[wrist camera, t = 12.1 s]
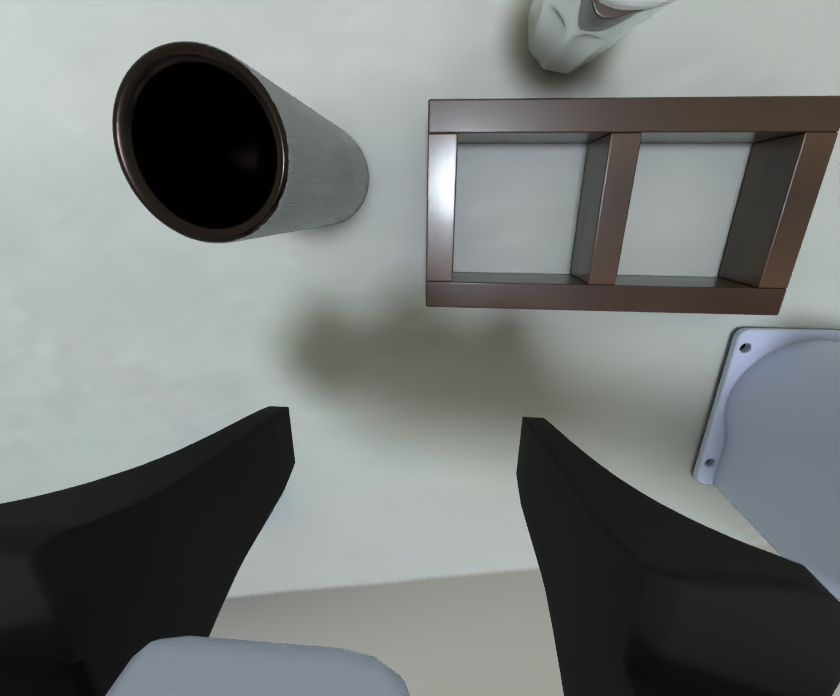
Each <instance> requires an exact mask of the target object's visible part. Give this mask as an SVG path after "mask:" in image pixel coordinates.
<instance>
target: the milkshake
mask: <svg viewBox="0 0 840 696" xmlns="http://www.w3.org/2000/svg"><path fill="white" fill-rule="evenodd" d="M674 1H676V0H533V1H532V5H531V9H530V13H529V17H528V42H529V51H530V52H531V54H532V55H533V56H534V58H535V59H536V60H537V62H538V63H539V64H540V66H541V67H542V68H543V70H548V71H554V72H559V73H564V74H567V73H569V72H571V71H573V70H575V69H576V68H578V67H580V66H582V65H584V64H586V63H588V62H589V61H591V60H592V59H594V58H595V57H596V56H598V55H599V54H600V53H602V52H603V51H604V50H606V49H607V48H608V47H610V46H611V45H612V44H614V43H615V42H616V41H618V40H619V39H621V38H622V37H623V36H625V35H626V34H627V33H629V32H630V31H631V30H633V29H634V28H635V27H637V26H638V25H639V24H641V23H643V22H644V21H646V20H647V19H649V18H650V17H652V16H653V15H655V14H656V13H658V12H659V11H661V10H662V9H664V8H665V7H667V6H668V5H670V4H671V3H673V2H674Z"/></svg>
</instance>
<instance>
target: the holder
mask: <svg viewBox="0 0 840 696" xmlns="http://www.w3.org/2000/svg"><path fill="white" fill-rule="evenodd" d="M839 128H840V96H748V97H635V98H522V99H430V100H429V101H428V133H429V134H428V172H427V249H426V306H427V307H464V308H504V309H544V310H584V311H624V312H664V313H704V314H744V315H778V314H779V311H780V308H781V305H782V301H783V298H784V295H785V292H786V289H785V288H787V287H788V284H789V281H790V278H791V275H792V272H793V269H794V266H795V263H796V259H797V256H798V253H799V250H800V247H801V244H802V241H803V238H804V235H805V232H806V229H807V226H808V223H809V220H810V217H811V214H812V211H813V208H814V205H815V202H816V199H817V196H818V193H819V190H820V187H821V184H822V180H823V177H824V174H825V171H826V168H827V165H828V162H829V159H830V156H831V153H832V150H833V147H834V144H835V141H836V138H837V135H838V133H837V131H839ZM711 142H755V143H754V144H753V147H752V151H751V154H750V158H749V162H748V166H747V169H746V173H745V177H744V181H743V185H742V188H741V192H740V196H739V200H738V203H737V207H736V211H735V215H734V218H733V222H732V226H731V230H730V233H729V237H728V241H727V245H726V248H725V252H724V256H723V260H722V264H721V267H720V271H719V275H718V277H679V276H627V275H617V271H618V265H619V260H620V254H621V249H622V243H623V237H624V232H625V226H626V220H627V215H628V209H629V204H630V198H631V192H632V187H633V181H634V175H635V170H636V164H637V159H638V153H639V147H640V143H711ZM457 143H589V144H588V149H587V156H586V163H585V171H584V178H583V185H582V193H581V200H580V207H579V214H578V222H577V229H576V236H575V243H574V251H573V258H572V265H571V272H570V273H571V274H523V273H471V272H453V251H454V223H455V195H456V167H457Z"/></svg>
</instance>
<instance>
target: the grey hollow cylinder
mask: <svg viewBox="0 0 840 696" xmlns="http://www.w3.org/2000/svg"><path fill="white" fill-rule="evenodd" d="M112 124H113V139H114V145H115V150H116V154H117V157H118V161H119V163H120V166H121V169H122V171H123V174H124V176H125V178H126V180H127V182H128V183H129V185H130V187H131V189H132V190H133V192H134V193H135V195H136V196H137V197H138V199H139V200H140V201H141V203H142V204H143V205H144V206H145V207H146V208H147V209H148V211H149V212H150V213H151V214H153V215H154V216H155V217H156V218H157V219H158V220H159V221H161V222H162V223H163V224H165V225H166V226H167V227H169V228H171V229H172V230H174V231H176V232H178V233H179V234H182V235H184V236H186V237H189V238H191V239H194V240H198V241H202V242H208V243H229V242H236V241H242V240H247V239H253V238H259V237H264V236H270V235H276V234H281V233H287V232H293V231H298V230H304V229H309V228H315V227H321V226H326V225H332V224H336V223H339V222H341V221H343V220H345V219H347V218H349V217H350V216H351V215H353V214H354V213H355V212H356V211H357V209H358V208H359V207H360V205H361V204H362V202H363V200H364V198H365V195H366V192H367V187H368V169H367V164H366V161H365V158H364V156H363V153H362V152H361V150H360V148H359V146H358V145H357V144H356V142H355V141H354V140H353V139H352V138H351V137H350V136H349V135H348V134H347V133H346V132H344V131H343V130H342V129H340V128H339V127H337V126H336V125H334V124H333V123H331V122H330V121H328V120H327V119H325V118H324V117H323V116H321V115H320V114H318V113H317V112H315V111H314V110H312V109H311V108H309V107H308V106H306V105H305V104H303V103H302V102H301V101H299V100H298V99H296V98H295V97H293V96H292V95H290V94H289V93H287V92H286V91H284V90H283V89H281V88H280V87H279V86H277V85H276V84H274V83H273V82H271V81H270V80H268V79H267V78H265V77H264V76H262V75H261V74H259V73H258V72H257V71H255V70H254V69H252V68H251V67H249V66H248V65H246V64H245V63H243V62H242V61H240V60H239V59H237V58H236V57H234V56H232V55H231V54H229V53H227V52H225V51H223V50H221V49H219V48H216V47H214V46H211V45H207V44H204V43H199V42H191V41H181V42H173V43H167V44H164V45H161V46H159V47H156V48H154V49H152V50H150V51H148V52H147V53H146V54H144V55H143V56H141V57H140V58H139V59H138V60H137V61H136V62H135V63H134V64H133V65H132V66H131V68H130V69H129V70H128V72H127V73H126V75H125V76H124V78H123V80H122V82H121V84H120V86H119V89H118V92H117V95H116V98H115V103H114V109H113V120H112Z"/></svg>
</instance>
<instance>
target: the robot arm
mask: <svg viewBox="0 0 840 696" xmlns="http://www.w3.org/2000/svg"><path fill="white" fill-rule="evenodd" d="M743 344H745V347H744V348H743V349H742V350H740V347H741V345H743ZM708 459H710V461H708V462H706V461H707V460H708ZM294 464H295V457H294V449H293V440H292V432H291V424H290V415H289V407H275V406H269V407H266V408H264V409H261V410H259V411H257V412H255V413H253V414H251V415H249V416H247V417H245V418H243V419H241V420H239V421H237V422H235V423H233V424H231V425H229V426H228V427H226V428H224V429H222V430H220V431H218V432H216V433H214V434H212V435H210V436H208V437H206V438H204V439H201V440H199V441H197V442H195V443H193V444H191V445H189V446H187V447H185V448H182V449H180V450H178V451H176V452H173V453H171V454H169V455H166V456H164V457H162V458H159V459H156V460H154V461H151V462H149V463H146V464H144V465H141V466H138V467H135V468H133V469H130V470H127V471H124V472H120V473H117V474H114V475H111V476H108V477H105V478H102V479H99V480H96V481H93V482H89V483H86V484H82V485H79V486H75V487H71V488H68V489H64V490H60V491H56V492H52V493H48V494H44V495H40V496H36V497H31V498H27V499H22V500H17V501H12V502H7V503H2V504H0V696H410V694H409V692H408V689H407V687H406V684H405V682H404V680H403V679H402V678H401V677H400V675H399V674H397V673H396V672H395V671H393V670H392V669H390V668H389V667H388V666H387V665H385V664H384V663H382V662H381V661H380V660H378V659H377V658H376V657H373V656H369V655H366V654H362V653H358V652H354V651H351V650H347V649H343V648H331V647H321V646H308V645H296V644H284V643H272V642H260V641H246V640H235V639H222V638H210V637H209V635H210V633H211V630H212V628H213V626H214V623H215V621H216V618H217V616H218V614H219V612H220V609H221V607H222V605H223V603H224V600H225V598H226V596H227V594H228V592H229V589H230V587H231V585H232V583H233V581H234V579H235V576H236V574H237V572H238V570H239V568H240V566H241V564H242V562H243V560H244V559H245V557H246V555H247V553H248V551H249V550H250V548H251V546H252V545H253V543H254V541H255V539H256V538H257V536H258V534H259V533H260V531H261V529H262V528H263V526H264V524H265V522H266V521H267V519H268V517H269V516H270V514H271V512H272V510H273V509H274V507H275V505H276V504H277V502H278V500H279V498H280V497H281V495H282V493H283V491H284V489H285V487H286V484H287V482H288V480H289V477H290V474H291V472H292V469H293V467H294ZM516 474H517V481H518V488H519V495H520V501H521V506H522V509H523V513H524V516H525V520H526V523H527V527H528V530H529V534H530V537H531V540H532V544H533V547H534V551H535V554H536V557H537V561H538V564H539V568H540V571H541V574H542V578H543V583H544V587H545V591H546V596H547V601H548V606H549V611H550V617H551V622H552V627H553V633H554V638H555V645H556V650H557V656H558V662H559V667H560V673H561V679H562V686H563V692H564V696H832V695H833V693H834V691H835V689H836V688H837V686H838V684H839V682H840V602H839V601H838V600H840V330H820V329H783V328H741V329H739V330H738V331H737V332H736V333H735V334H734V336H733V339H732V342H731V346H730V349H729V353H728V356H727V359H726V363H725V366H724V370H723V373H722V376H721V380H720V383H719V387H718V390H717V393H716V397H715V400H714V404H713V407H712V410H711V414H710V417H709V421H708V424H707V427H706V431H705V434H704V438H703V441H702V444H701V448H700V451H699V455H698V458H697V461H696V465H695V468H694V472H693V477H694V479H695V480H696V481H697V482H699V483H701V484H714V485H715V486H716V487H717V488H718V489H719V491H720V492H721V493H722V494H723V495H724V496H725V497H726V498H727V499H728V500H729V501H730V502H731V503H732V504H733V505H734V506H735V508H736V509H737V510H738V511H739V512H740V513H741V514H742V515H743V516H744V517H745V518H746V519H747V520H748V521H749V522H750V523H751V525H752V526H753V527H754V528H755V529H756V530H757V531H758V532H759V533H760V534H761V535H762V536H763V537H764V538H765V539H766V540H767V542H768V543H769V544H770V545H771V546H772V547H773V548H774V549H775V550H776V551H777V552H778V553H779V554H780V555H781V556H782V557H780V556H778V555H775V554H773V553H770V552H767V551H765V550H762V549H759V548H757V547H754V546H751V545H748V544H746V543H743V542H741V541H738V540H736V539H734V538H731V537H729V536H727V535H724V534H722V533H720V532H718V531H715V530H713V529H711V528H708V527H706V526H704V525H702V524H700V523H698V522H696V521H694V520H691V519H689V518H687V517H685V516H683V515H681V514H679V513H678V512H676V511H674V510H672V509H670V508H668V507H666V506H664V505H662V504H660V503H659V502H657V501H655V500H653V499H652V498H650V497H648V496H646V495H645V494H643V493H641V492H640V491H638V490H637V489H635V488H633V487H632V486H630V485H629V484H627V483H625V482H624V481H622V480H621V479H619V478H618V477H616V476H615V475H613V474H612V473H611V472H609V471H608V470H607V469H605V468H604V467H603V466H601V465H600V464H598V463H597V462H596V461H594V460H593V459H592V458H591V457H589V456H588V455H587V454H586V453H584V452H583V451H582V450H581V449H580V448H578V447H577V446H576V445H575V444H574V443H572V442H571V441H570V440H569V439H568V438H567V437H565V436H564V435H563V434H562V433H561V432H560V431H559V430H557V429H556V428H555V427H554V426H553V425H552V424H550V423H549V422H548V421H547V420H546V419H544V418H535V417H523V419H522V428H521V437H520V446H519V455H518V464H517V473H516ZM836 598H837V599H838V600H837V599H836Z"/></svg>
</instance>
